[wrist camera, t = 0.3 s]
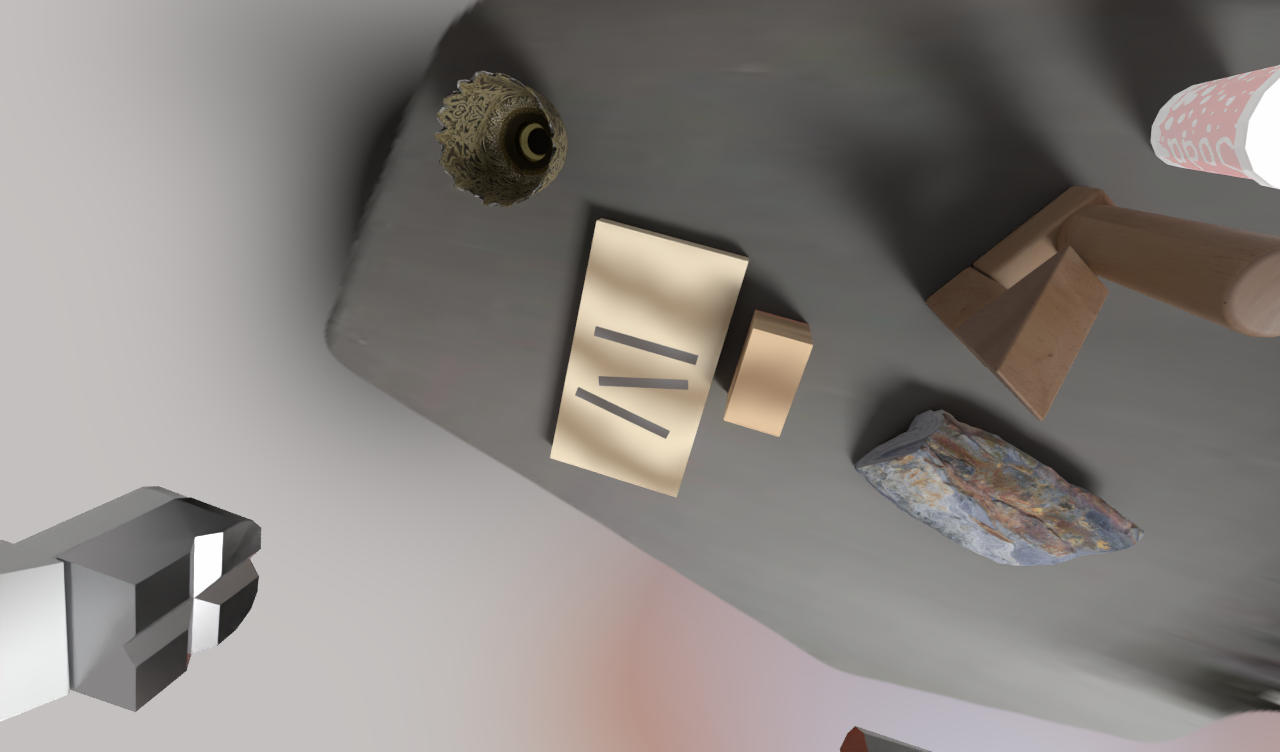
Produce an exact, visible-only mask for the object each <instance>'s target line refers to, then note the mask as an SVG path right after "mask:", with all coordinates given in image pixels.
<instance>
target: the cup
mask: <svg viewBox="0 0 1280 752" xmlns="http://www.w3.org/2000/svg"><path fill="white" fill-rule="evenodd" d="M457 87H458V88H459V89H460V91H454V92H452V94H450V95H447V96H446V97H444V99H443V103H444V107H442V108H441V109H440V110H439V111H438V112H437V119H438V120H439V122H440V124H441V125H442V126H443V127H444V128H442V130H440V131H438V132H436V133H434V136H435V139H436V140H437V141H438V142H439V143H440V144H442V150H441V152H440V154H439V164H440V166H441V167H442V168H443V170H444V171H445V172H446V173H447V174H448V175H450V176H451V177H452V178H453V179H454V180H453V185H454V187H455V188H456V189H458V190H459V191H470V192H471V193H473V194H474V196H475V197H479V198H481V199H483V201H481V202H482V204H484V205H487V206H495V205H498V206H500V207H509V206H513V205H516V204H518V203H520V202H522V201H524V200H526V199H528V198H530V197H532V196H533V195H534V194H536V193H538V192H539V191H541V190H542V189H544V188H545V187H547V186H548V185H549V184H550V183H551V182H552V181H553V180H554V179H555V178H556V177H557V175H558V174H559V172H560V171H561V169H562V167H563V164H564V162H565V159H566V154H567V146H568V144H567V133H566V129H565V126H564V123H563V121H562V119H561V117H560V115H559V113H558V111H557V110H556V109H555V107H554V106H553V105H552V104H551V103H550V102H549V101H548V100H547V99H546V98H545V97H544V96H543V95H541V94H540V93H538V92H537V91H536V90H534V89H532V88H531V87H529V86H527V85H526V84H524V83H522V82H520V81H519V80H517V79H514V78H511V77H510V76H508V75H505V74H503V73H499V72H496V73H492V72H487V71H477V72H475V74H474V75H473V78H472V79H470V80H466V79H464V80H459V81H458V82H457ZM537 129H540V130H543V131H545V132H546V133H547V136H548V140H549V146H548V150H547V152H545V153H543V154H536V153H534V152H533V151H532V150H531V149H530V147H529V144H528V138H529V135H530V134H531V132H533V131H534V130H537Z"/></svg>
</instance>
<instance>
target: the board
mask: <svg viewBox="0 0 1280 752" xmlns="http://www.w3.org/2000/svg"><path fill="white" fill-rule="evenodd" d="M748 261H749V258H748V257H745V256H741V255H737V254H734V253H730V252H726V251H723V250H719V249H715V248H711V247H708V246H704V245H700V244H697V243H693V242H689V241H686V240H682V239H678V238H674V237H671V236H667V235H663V234H660V233H656V232H652V231H649V230H645V229H641V228H637V227H634V226H630V225H626V224H623V223H619V222H615V221H612V220H608V219H604V218H601V219H599V220H597V221H596V226H595V231H594V236H593V242H592V247H591V252H590V257H589V262H588V267H587V272H586V277H585V282H584V288H583V293H582V298H581V303H580V308H579V313H578V318H577V323H576V328H575V333H574V339H573V344H572V349H571V354H570V359H569V364H568V369H567V374H566V379H565V385H564V390H563V395H562V400H561V405H560V410H559V415H558V420H557V425H556V431H555V436H554V441H553V446H552V451H551V456H550V458H552V459H555V460H558V461H562V462H565V463H568V464H571V465H574V466H578V467H581V468H584V469H587V470H590V471H594V472H597V473H600V474H603V475H606V476H609V477H613V478H616V479H619V480H622V481H625V482H629V483H632V484H635V485H638V486H641V487H645V488H648V489H651V490H654V491H657V492H660V493H664V494H667V495H670V496H673V497H677V494H678V491H679V487H680V484H681V481H682V478H683V474H684V471H685V468H686V464H687V461H688V458H689V455H690V451H691V448H692V445H693V442H694V438H695V435H696V432H697V428H698V425H699V422H700V419H701V415H702V412H703V409H704V405H705V402H706V399H707V396H708V392H709V389H710V386H711V383H712V379H713V376H714V373H715V369H716V366H717V363H718V360H719V356H720V353H721V350H722V347H723V343H724V340H725V337H726V333H727V330H728V327H729V324H730V320H731V317H732V314H733V311H734V307H735V304H736V301H737V297H738V294H739V291H740V288H741V284H742V281H743V278H744V275H745V271H746V268H747V265H748Z"/></svg>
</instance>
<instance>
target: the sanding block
mask: <svg viewBox="0 0 1280 752" xmlns="http://www.w3.org/2000/svg"><path fill="white" fill-rule="evenodd" d="M812 347H813V342H812V337H811V333H810V328H809V324H806V323H802V322H798V321H795V320H791V319H788V318H784V317H781V316H777V315H773V314H770V313H766V312H763V311H759V310H755V311H754V314H753V317H752V320H751V323H750V326H749V329H748V333H747V336H746V339H745V342H744V345H743V348H742V351H741V354H740V358H739V361H738V364H737V367H736V370H735V373H734V376H733V379H732V382H731V386H730V389H729V392H728V396H727V402H726V408H725V415H724V420H725V421H728V422H731V423H735V424H738V425H741V426H745V427H748V428H751V429H755V430H758V431H761V432H765V433H768V434H771V435H775V436H778V437H779V436H780V433H781V431H782V428H783V425H784V422H785V420H786V417H787V414H788V412H789V409H790V406H791V404H792V401H793V398H794V396H795V393H796V390H797V387H798V385H799V382H800V379H801V377H802V374H803V371H804V369H805V366H806V363H807V361H808V358H809V355H810V352H811V350H812Z"/></svg>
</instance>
